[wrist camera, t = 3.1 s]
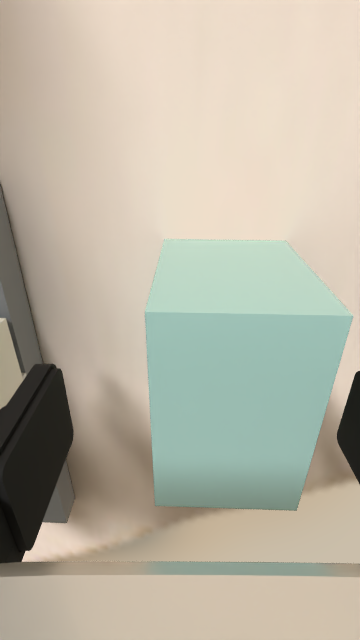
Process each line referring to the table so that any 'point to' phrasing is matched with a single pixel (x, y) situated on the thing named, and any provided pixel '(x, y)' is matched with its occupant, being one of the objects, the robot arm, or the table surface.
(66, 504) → the rail board
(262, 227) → the table surface
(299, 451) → the block
